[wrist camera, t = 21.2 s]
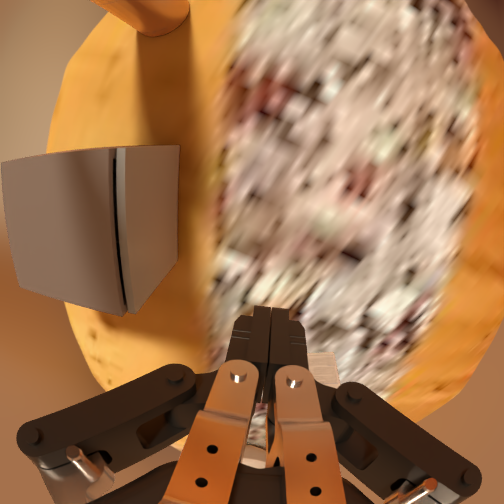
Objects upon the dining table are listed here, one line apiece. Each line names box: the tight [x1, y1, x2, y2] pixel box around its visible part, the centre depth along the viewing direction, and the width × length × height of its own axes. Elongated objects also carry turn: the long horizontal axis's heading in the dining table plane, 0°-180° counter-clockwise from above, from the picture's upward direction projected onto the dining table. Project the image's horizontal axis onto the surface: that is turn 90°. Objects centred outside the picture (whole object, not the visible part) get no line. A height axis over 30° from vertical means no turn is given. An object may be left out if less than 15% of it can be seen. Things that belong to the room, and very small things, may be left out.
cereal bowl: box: [242, 444, 266, 469], centre depth 62 cm, size 17×17×7 cm
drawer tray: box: [113, 145, 180, 314], centre depth 33 cm, size 18×20×16 cm
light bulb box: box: [307, 352, 341, 388], centre depth 45 cm, size 11×7×11 cm, turn 4°
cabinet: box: [1, 145, 162, 317], centre depth 33 cm, size 18×20×17 cm
